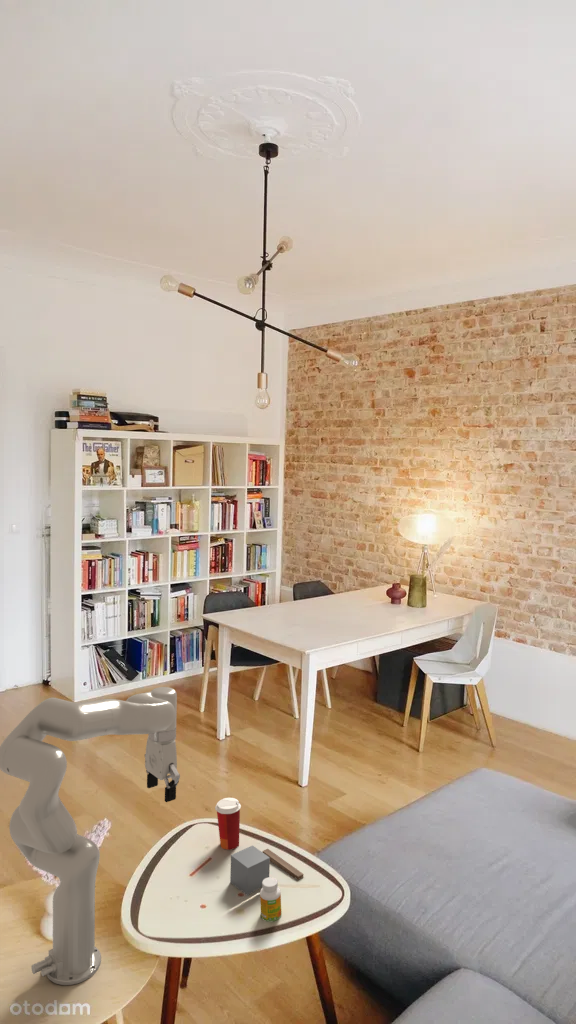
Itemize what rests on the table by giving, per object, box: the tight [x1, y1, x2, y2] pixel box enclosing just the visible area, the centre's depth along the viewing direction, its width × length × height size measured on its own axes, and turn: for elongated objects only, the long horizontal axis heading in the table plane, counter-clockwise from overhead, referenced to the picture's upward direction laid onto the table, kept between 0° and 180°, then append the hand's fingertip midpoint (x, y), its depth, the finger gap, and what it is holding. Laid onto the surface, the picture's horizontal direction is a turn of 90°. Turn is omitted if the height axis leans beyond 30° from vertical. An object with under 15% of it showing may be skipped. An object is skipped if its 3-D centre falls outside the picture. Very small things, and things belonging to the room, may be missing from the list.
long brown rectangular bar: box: [262, 848, 304, 881], centre depth 198 cm, size 2×16×2 cm, turn 41°
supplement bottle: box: [259, 876, 282, 922], centre depth 177 cm, size 5×5×10 cm
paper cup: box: [214, 797, 242, 851], centre depth 208 cm, size 8×8×14 cm
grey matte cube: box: [229, 845, 271, 896], centre depth 190 cm, size 8×8×9 cm
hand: (161, 793), depth 188 cm, fingers open, 9 cm apart
